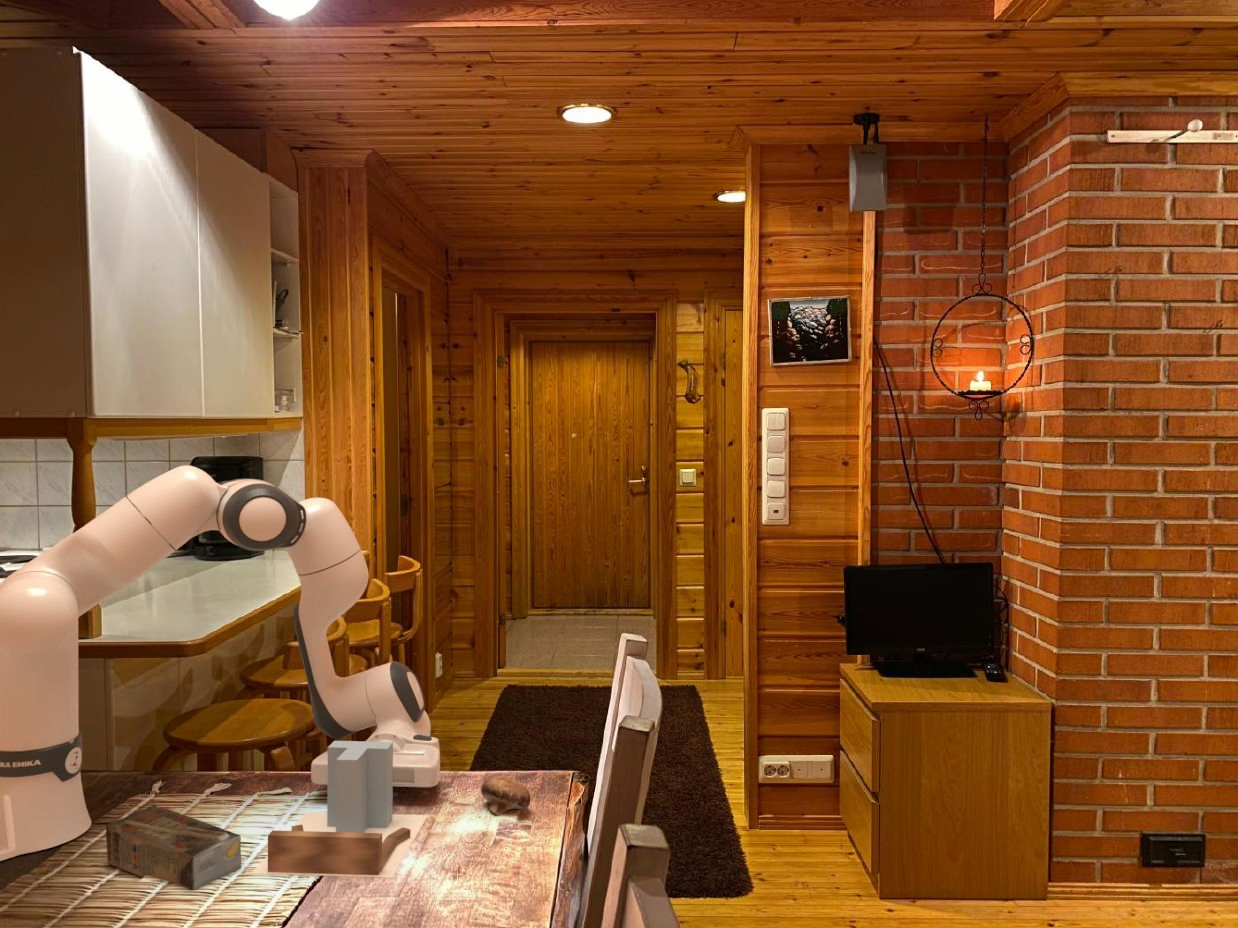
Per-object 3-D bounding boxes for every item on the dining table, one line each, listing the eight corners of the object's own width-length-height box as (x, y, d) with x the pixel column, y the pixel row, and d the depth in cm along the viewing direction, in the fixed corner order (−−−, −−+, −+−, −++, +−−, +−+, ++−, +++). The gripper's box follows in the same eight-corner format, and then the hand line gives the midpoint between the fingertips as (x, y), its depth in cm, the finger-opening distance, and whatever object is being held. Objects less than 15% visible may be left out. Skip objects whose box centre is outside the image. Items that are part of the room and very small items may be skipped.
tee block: (315, 841, 132) (315, 759, 131) (334, 818, 140) (334, 740, 139) (377, 842, 131) (377, 760, 131) (392, 819, 139) (392, 741, 139)
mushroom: (487, 809, 138) (500, 768, 142) (465, 812, 144) (478, 773, 148) (531, 826, 141) (543, 786, 145) (508, 828, 147) (519, 790, 151)
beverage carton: (192, 901, 117) (192, 851, 116) (102, 866, 126) (102, 820, 125) (243, 875, 124) (243, 828, 123) (155, 844, 133) (155, 800, 132)
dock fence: (258, 871, 122) (258, 834, 122) (293, 832, 134) (293, 798, 134) (388, 875, 122) (388, 838, 122) (411, 835, 134) (411, 801, 134)
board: (251, 880, 122) (251, 873, 122) (306, 818, 142) (306, 811, 142) (392, 884, 121) (392, 877, 121) (427, 821, 141) (428, 814, 141)
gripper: (327, 735, 153) (295, 764, 140) (448, 738, 153) (428, 768, 139) (326, 772, 154) (295, 805, 140) (447, 775, 153) (428, 808, 139)
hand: (363, 786), depth 139 cm, fingers closed
